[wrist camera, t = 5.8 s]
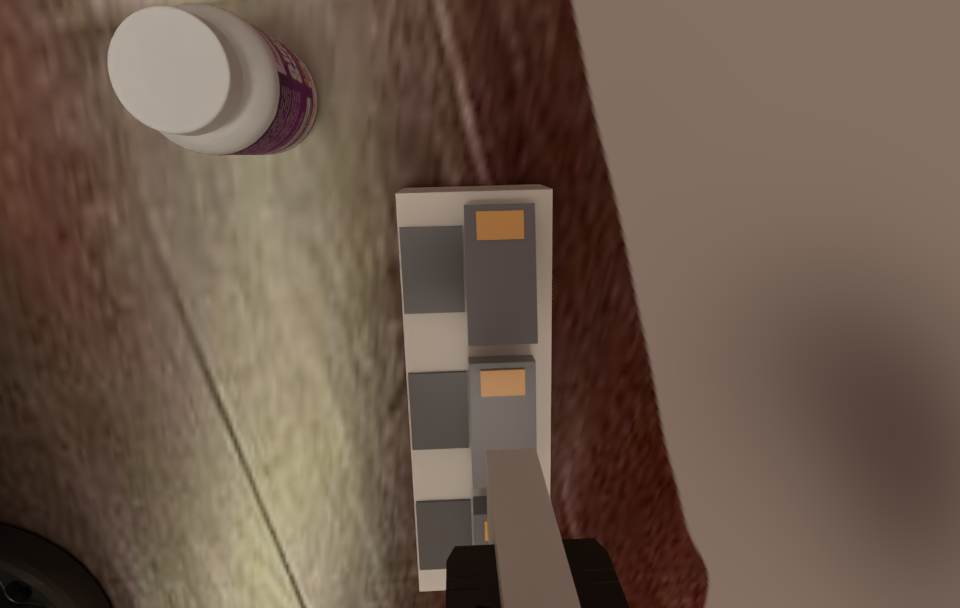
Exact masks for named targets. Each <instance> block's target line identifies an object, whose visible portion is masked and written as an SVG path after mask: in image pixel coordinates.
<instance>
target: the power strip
mask: <svg viewBox="0 0 960 608" xmlns="http://www.w3.org/2000/svg"><path fill="white" fill-rule="evenodd" d="M395 196H396V212H397V229H398V245H399V262H400V278H401V295H402V311H403V328H404V344H405V361H406V377H407V394H408V410H409V426H410V443H411V459H412V476H413V492H414V509H415V525H416V542H417V558H418V575H419V591H440V590H446V560H447V559H448V557H449V555H450V554H451V552H452V550H453V548H454V547H455V546H469V545H474V519H473V496H487V488H482V489H473V483H472V456H471V424H470V393H469V362H468V357H483V356H511V355H533V357H534V359H535V361H536V436H537V454H538V458H539V461H540V465H541V468H542V472H543V476H544V479H545V483H546V486H547V490H548V493H549V497H550V467H551V335H552V203H553V189H551V188H548V187H546V186H543V185H541V184H528V185H491V186H454V187H417V188H402V189H401V190H400V191H398V192H397V193H395ZM514 203H535V231H536V276H537V321H538V344H515V345H487V346H468V326H467V295H466V265H465V234H464V205H478V204H514Z"/></svg>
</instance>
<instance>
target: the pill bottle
mask: <svg viewBox="0 0 960 608" xmlns="http://www.w3.org/2000/svg"><path fill="white" fill-rule="evenodd" d="M108 71H109V76H110V80H111V84H112V86H113V89H114V91H115V93H116V95H117V97H118V98H119V100H120V102H121V103H122V104H123V106H124V107H125V108H126V109H127V110H128V111H129V112H130V113H131V114H132V115H133V116H134V117H135V118H136V119H138V120H139V121H140V122H142V123H143V124H145V125H146V126H148V127H150V128H153V129H155V130H158V131H159V132H160V133H161V134H163V135H164V136H165V137H166V138H168V139H169V140H170V141H172V142H174V143H176V144H177V145H179V146H181V147H183V148H186V149H188V150H191V151H194V152H198V153H203V154H208V155H266V154H276V153H281V152H284V151H286V150H288V149H290V148H292V147H294V146H295V145H297V144H298V143H300V142H301V141H302V140H303V139H304V138H305V136H306V135H307V134H308V132H309V130H310V129H311V127H312V125H313V122H314V120H315V116H316V112H317V93H316V88H315V84H314V81H313V79H312V76H311V75H310V73H309V71H308V69H307V67H306V66H305V64H304V63H303V62H302V61H301V60H300V58H299V57H298V56H297V55H296V54H295V53H294V52H293V51H291V50H290V49H289V48H287V47H286V46H284V45H283V44H281V43H280V42H278V41H277V40H275V39H273V38H272V37H270V36H269V35H267V34H266V33H264V32H263V31H261V30H259V29H258V28H256V27H254V26H253V25H251V24H249V23H248V22H246V21H245V20H243V19H242V18H240V17H239V16H237V15H235V14H233V13H232V12H229V11H226V10H224V9H221V8H218V7H215V6H210V5H205V4H185V5H180V6H176V7H170V6H153V7H147V8H144V9H141V10H138V11H136V12H135V13H133V14H131V15H130V16H128V17H127V18H126V19H125V20H124V21H123V22H122V23H121V24H120V26H119V27H118V28H117V29H116V31H115V33H114V35H113V37H112V39H111V42H110V45H109V50H108Z"/></svg>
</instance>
